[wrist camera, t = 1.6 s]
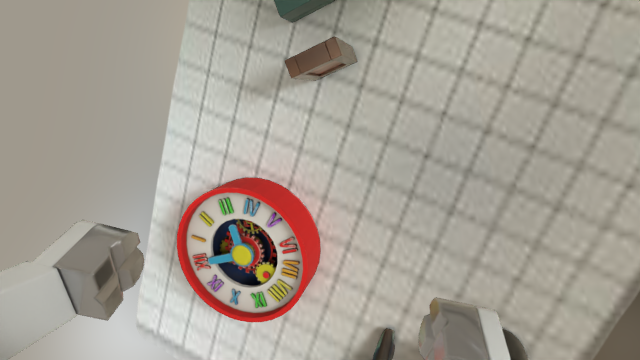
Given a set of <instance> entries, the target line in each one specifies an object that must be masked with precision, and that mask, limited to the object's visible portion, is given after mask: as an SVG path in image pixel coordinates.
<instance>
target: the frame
mask: <svg viewBox="0 0 640 360" xmlns="http://www.w3.org/2000/svg"><path fill="white" fill-rule="evenodd" d="M355 62H357V59H356V56H355V53H354V51H353V48H352V46H350V45H348V44H347V43H345V42H343V41H342V40H340V39H338V38H336V37H332V38H330V39H328V40H326V41H325V42H322V43H320V44H318V45H316V46H314V47H312V48H310V49H308V50H306V51H304V52H302V53H299V54H297V55H295V56H293V57H291V58H289V59H287V60H285V63H286V66H287V69H288V71H289V74H290V76H291V78H293V79H304V80H315V81H316V80H318V79H320V78H322V77H324V76H327V75H329V74H331V73H333V72H336V71H338V70H340V69H342V68H344V67H347V66H348V65H351V64H353V63H355Z"/></svg>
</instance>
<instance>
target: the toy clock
mask: <svg viewBox="0 0 640 360" xmlns="http://www.w3.org/2000/svg"><path fill="white" fill-rule="evenodd" d="M177 250H178V257H179V261H180V264H181V268H182V270H183V272H184V274H185V277H186V279H187V280H188V282H189V283H190V285H191V287H192V288H193V289H194V291H195V292H196V293H197V294H198V295H199V297H200V298H201V299H202V300H204V301H205V302H206V303H207V304H208V305H209V306H210V307H212V308H213V309H215V310H216V311H218V312H219V313H222V314H224V315H226V316H228V317H230V318H233V319H236V320H240V321H246V322H264V321H268V320H272V319H275V318H277V317H279V316H282V315H283V314H285V313H286V312H287V311H289V310H290V309H291V308H292V307H293V306H294V305H295V304H296V303H297V301H298V300H299V298H300V297H301V295H302V293H303V292H304V290H305V289H306V287H307V286H308V284H309V282H310V281H311V279H312V277H313V276H314V274H315V272H316V269H317V267H318V264H319V258H320V238H319V234H318V230H317V227H316V224H315V222H314V220H313V217H312V216H311V214H310V212H309V211H308V209H307V208H306V206H305V205H304V204H303V203H302V202H301V201H300V199H299V198H298V197H296V196H295V195H294V194H293V193H292V192H291V191H289V190H288V189H286V188H284V187H283V186H281V185H279V184H277V183H274V182H272V181H269V180H265V179H261V178H242V179H236V180H234V181H231V182H228V183H226V184H224V185H222V186H220V187H218V188H215V189H213V190H211V191H209V192H207V193H205V194H203V195H202V196H200V197H199V198H197V199H196V200H195V201H194V202H193V203H192V204H191V205H190V206H189V207H188V209H187V210H186V212H185V213H184V215H183V217H182V219H181V222H180V224H179V229H178V234H177Z"/></svg>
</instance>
